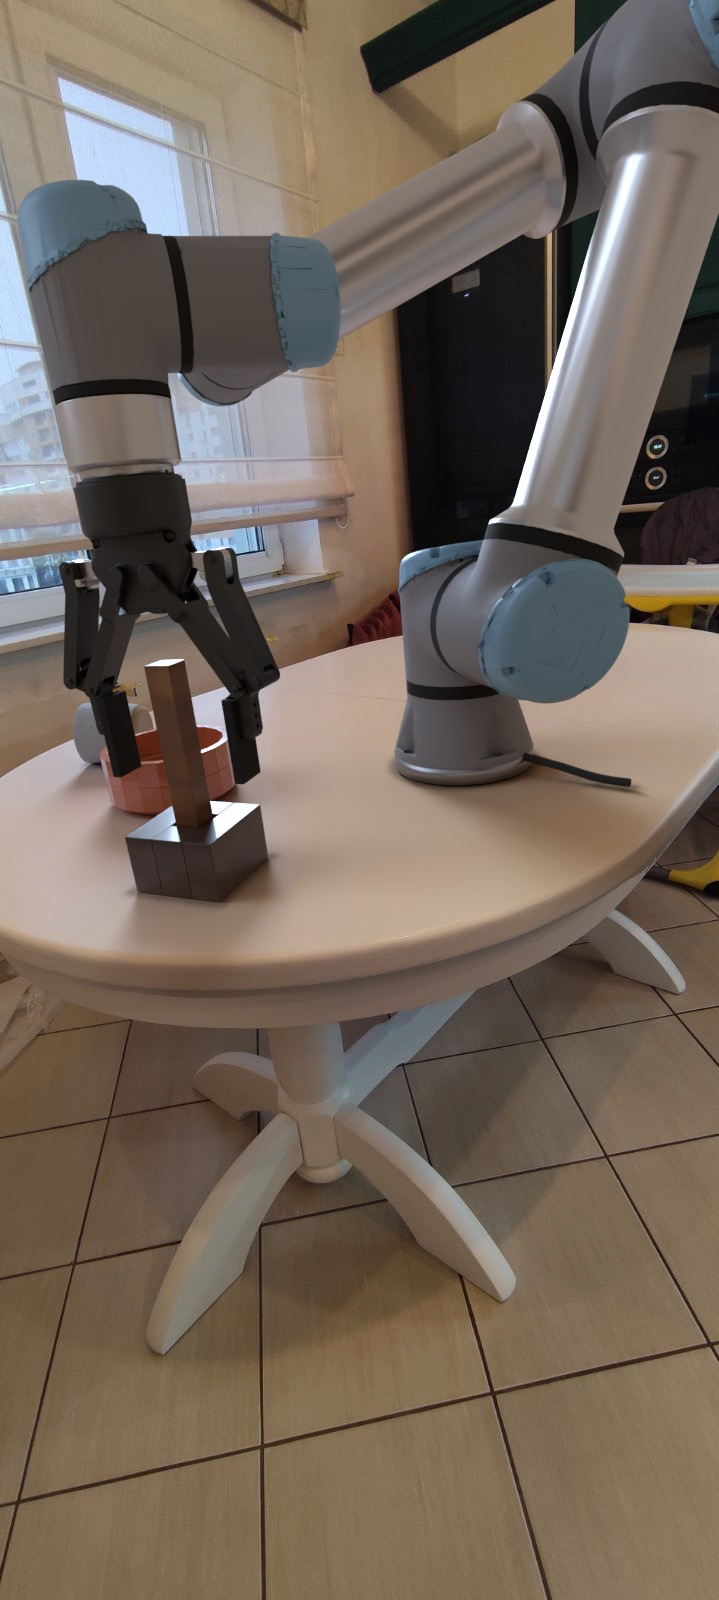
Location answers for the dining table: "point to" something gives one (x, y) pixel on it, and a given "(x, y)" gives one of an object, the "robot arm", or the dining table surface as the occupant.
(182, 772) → the stick
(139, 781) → the bowl
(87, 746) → the ceramic mug
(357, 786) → the dining table surface
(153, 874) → the holder
